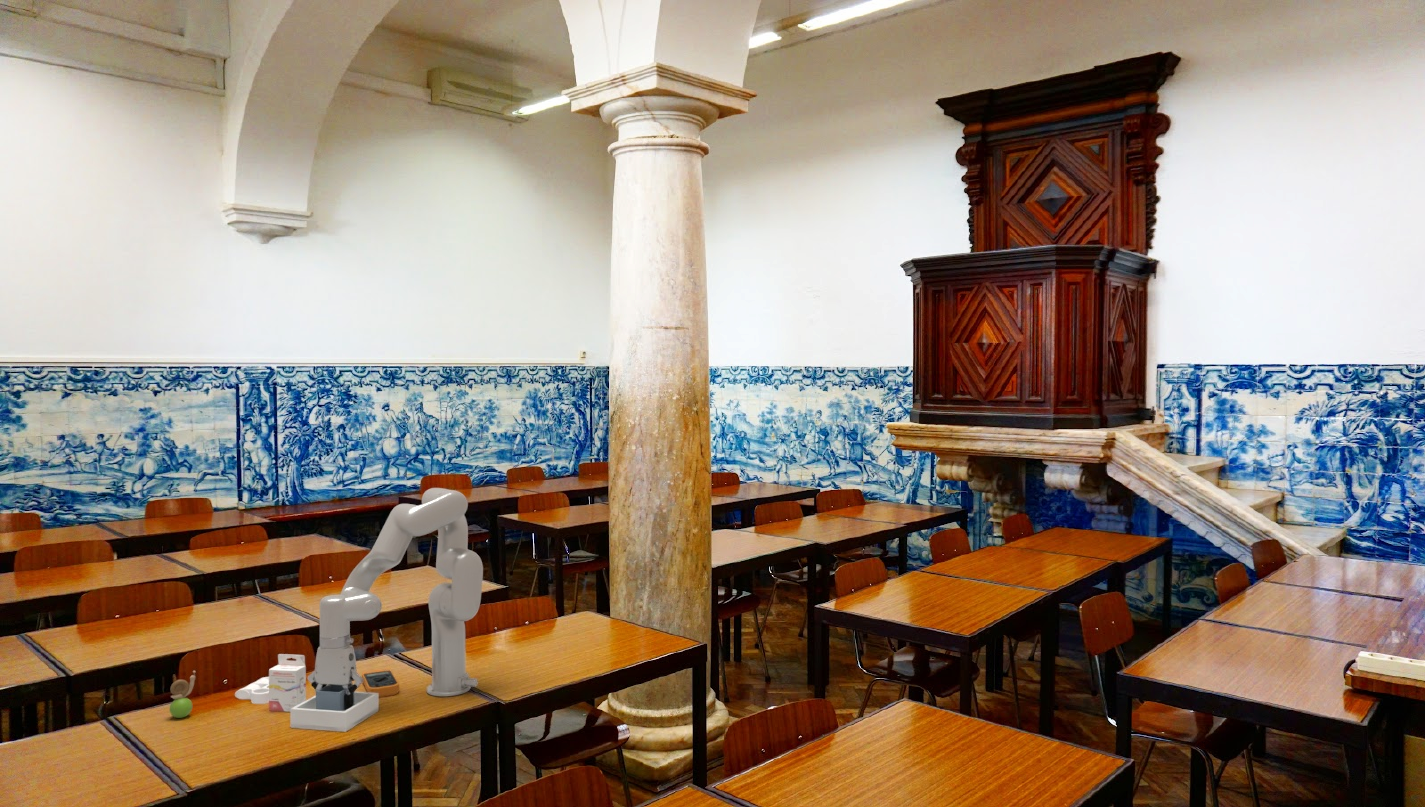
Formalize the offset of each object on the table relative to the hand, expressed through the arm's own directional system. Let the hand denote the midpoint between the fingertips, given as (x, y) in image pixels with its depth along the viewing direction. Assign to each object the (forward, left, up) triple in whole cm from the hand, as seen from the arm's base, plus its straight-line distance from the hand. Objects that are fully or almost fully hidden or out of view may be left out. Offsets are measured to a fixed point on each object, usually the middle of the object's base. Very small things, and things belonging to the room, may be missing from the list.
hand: (335, 706), depth 255 cm
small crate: (0, 0, -1) cm, 1 cm away
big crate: (0, 0, -3) cm, 3 cm away
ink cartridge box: (+18, -5, -4) cm, 19 cm away
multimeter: (+2, -26, -4) cm, 27 cm away
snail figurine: (+42, +6, -4) cm, 43 cm away
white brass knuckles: (+31, -16, -4) cm, 35 cm away
